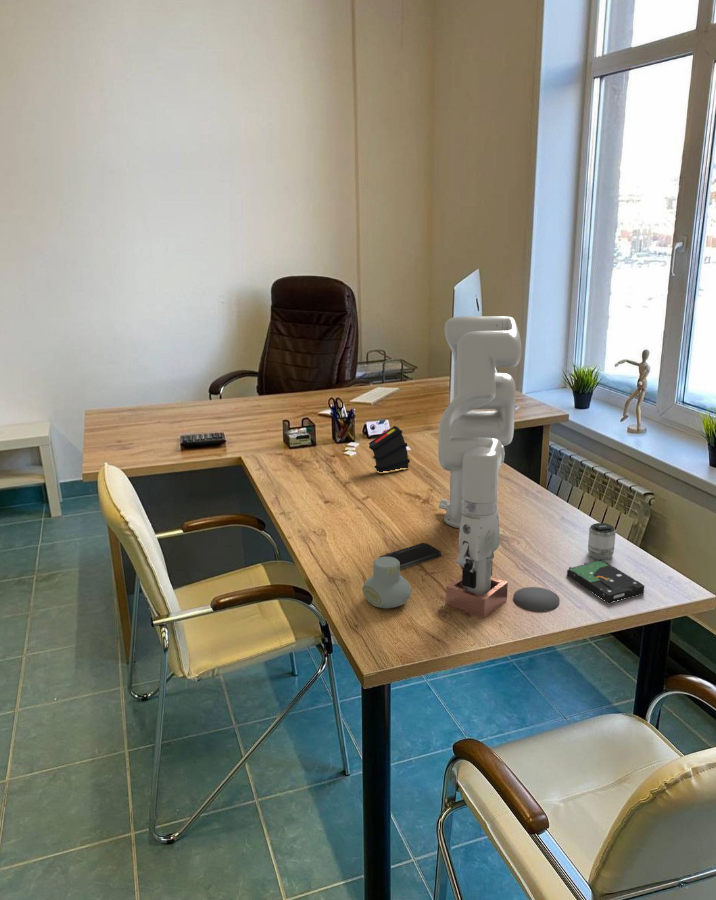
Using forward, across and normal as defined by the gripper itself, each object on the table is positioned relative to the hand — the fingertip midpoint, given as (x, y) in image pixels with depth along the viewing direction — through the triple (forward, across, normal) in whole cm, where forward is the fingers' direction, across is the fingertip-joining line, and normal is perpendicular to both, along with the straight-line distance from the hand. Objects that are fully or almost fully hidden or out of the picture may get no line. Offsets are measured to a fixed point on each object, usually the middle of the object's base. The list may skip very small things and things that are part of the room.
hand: (477, 579), depth 169 cm
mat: (+6, +9, -10) cm, 15 cm away
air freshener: (+6, -12, +16) cm, 21 cm away
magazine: (+6, +56, +68) cm, 88 cm away
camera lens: (+6, +39, -12) cm, 41 cm away
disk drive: (+6, +25, -19) cm, 32 cm away
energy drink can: (+6, 0, 0) cm, 6 cm away
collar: (+6, 0, 0) cm, 6 cm away
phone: (+6, +9, +25) cm, 27 cm away
